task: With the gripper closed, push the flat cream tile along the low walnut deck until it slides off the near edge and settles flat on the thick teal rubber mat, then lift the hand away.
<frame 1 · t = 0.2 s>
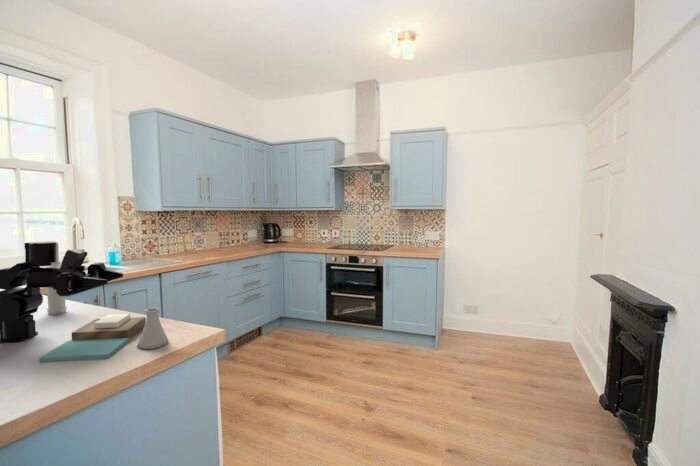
hand: (115, 278, 98), 17 cm above the counter, tool horizontal, fingers open, 9 cm apart
walnut deck: (111, 334, 99), on the counter
teal mat: (87, 350, 87), on the counter
bottle: (57, 313, 118), on the counter
flask: (153, 345, 92), on the counter
cream tile: (112, 323, 100), point 3 cm above the counter, touching walnut deck
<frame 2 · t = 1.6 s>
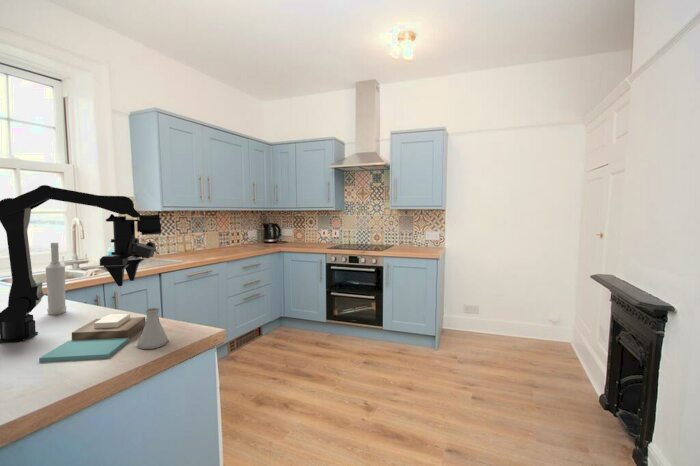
hand: (126, 283, 108), 13 cm above the counter, tool pointing down, fingers open, 8 cm apart
nothing on the counter moved.
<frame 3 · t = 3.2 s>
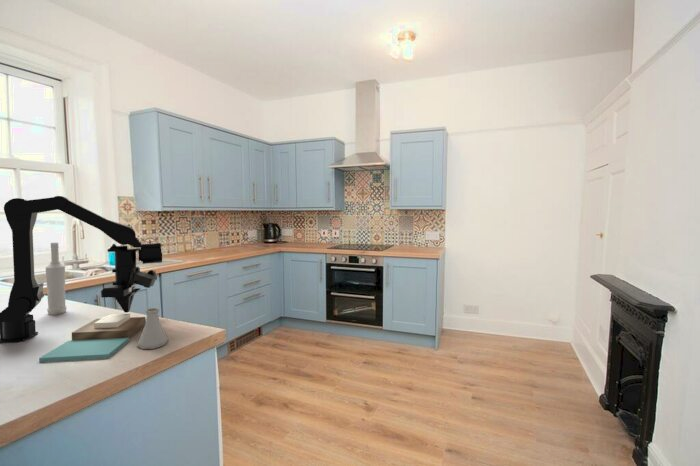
hand: (126, 312, 108), 4 cm above the counter, tool pointing down, fingers closed
nothing on the counter moved.
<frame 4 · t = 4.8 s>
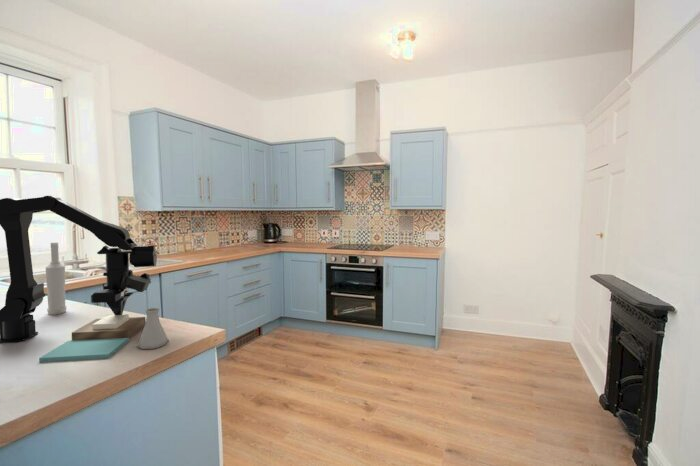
hand: (119, 317, 103), 4 cm above the counter, tool pointing down, fingers closed
cream tile: (111, 324, 99), point 3 cm above the counter, touching gripper, walnut deck
everything else where it was.
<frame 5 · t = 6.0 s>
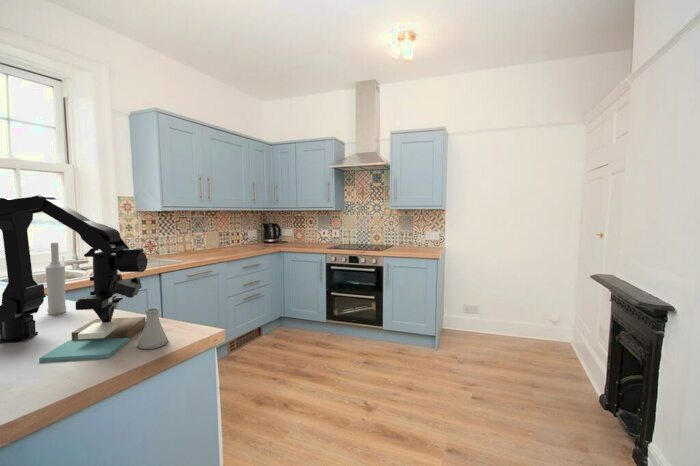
hand: (107, 324, 96), 4 cm above the counter, tool pointing down, fingers closed
cream tile: (99, 332, 92), point 3 cm above the counter, touching gripper, walnut deck
everything else where it was.
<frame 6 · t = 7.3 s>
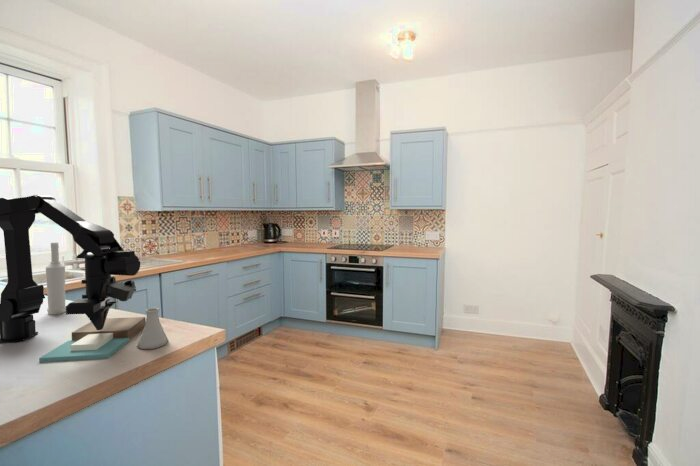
hand: (99, 329, 93), 4 cm above the counter, tool pointing down, fingers closed
cream tile: (92, 344, 89), point 1 cm above the counter, touching teal mat
everything else where it was.
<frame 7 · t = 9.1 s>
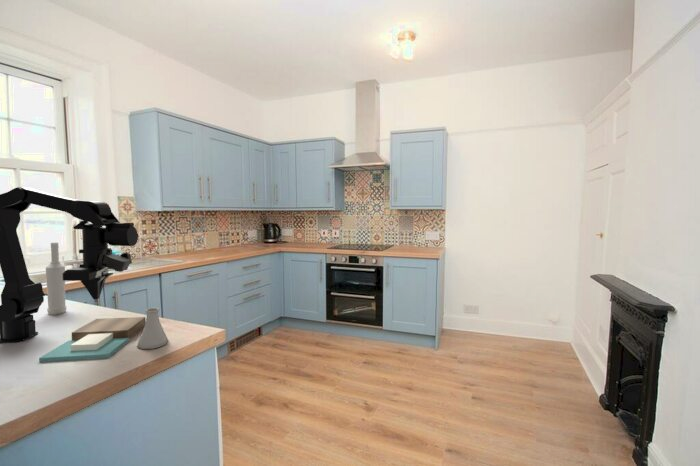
hand: (96, 299, 96), 11 cm above the counter, tool pointing down, fingers closed
nothing on the counter moved.
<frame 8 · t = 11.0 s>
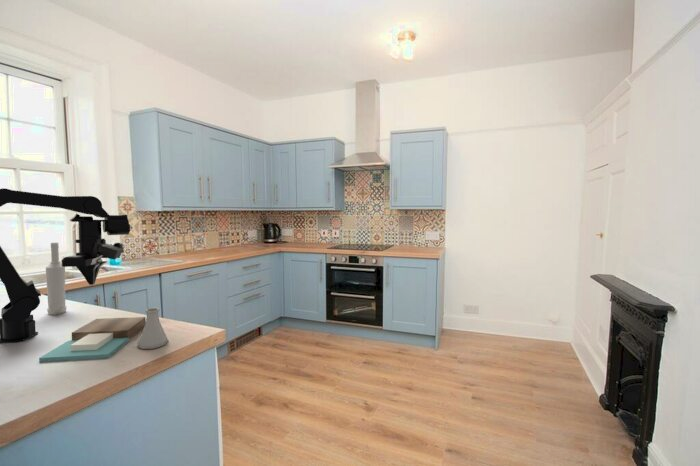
hand: (91, 284, 106), 13 cm above the counter, tool pointing down, fingers closed
nothing on the counter moved.
at the end: cream tile point 1.0 cm above the counter; cream tile inside the target area on the teal mat (1.9 cm from its centre), point 1.0 cm above the teal mat's base; cream tile tilted 0° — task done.
